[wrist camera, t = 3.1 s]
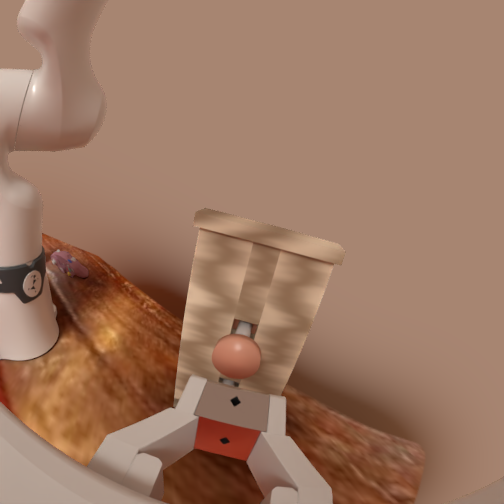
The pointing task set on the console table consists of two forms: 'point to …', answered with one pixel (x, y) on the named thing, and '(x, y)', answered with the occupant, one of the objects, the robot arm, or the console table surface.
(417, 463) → the console table surface
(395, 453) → the console table surface
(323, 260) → the beige tall block
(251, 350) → the reddish round knob
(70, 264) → the video game controller
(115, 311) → the console table surface
